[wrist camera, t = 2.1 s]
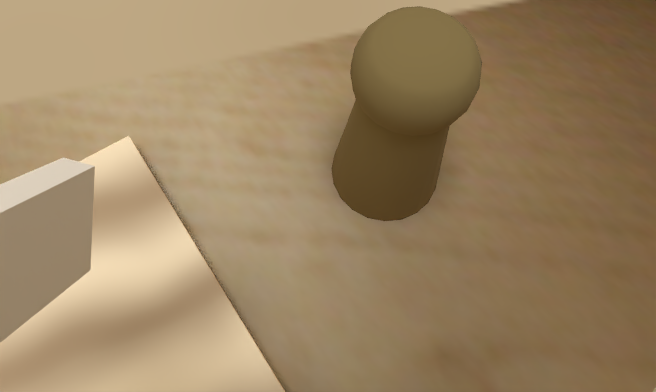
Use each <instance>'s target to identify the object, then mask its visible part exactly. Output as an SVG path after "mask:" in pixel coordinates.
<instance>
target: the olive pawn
mask: <svg viewBox="0 0 656 392" xmlns="http://www.w3.org/2000/svg"><path fill="white" fill-rule="evenodd" d="M481 66H482V61H481V57H480V54H479V50H478V47H477V44H476V42H475V40H474V38H473V37H472V36H471V34H470V33H469V31H468V30H467V28H466V27H465V26H464V25H462V24H461V23H460V22H459V21H457V20H456V19H455V18H454V17H452V16H450V15H448V14H446V13H443V12H441V11H439V10H436V9H430V8H425V7H406V8H400V9H397V10H394V11H392V12H389V13H387V14H385V15H384V16H382V17H381V18H379V19H378V20H377V21H375V22H374V23H372V24H371V25H370V26H368V28H367V29H366V30H365V32H364V33H363V35H362V36H361V38H360V39H359V41H358V43H357V45H356V47H355V49H354V54H353V58H352V63H351V72H350V74H351V80H352V86H353V91H354V94H355V98H356V101H355V104H354V106H353V109H352V111H351V114H350V117H349V119H348V122H347V124H346V127H345V129H344V132H343V135H342V137H341V140H340V142H339V145H338V148H337V150H336V153H335V156H334V161H333V165H332V175H333V182H334V185H335V187H336V189H337V191H338V193H339V195H340V197H341V199H342V200H343V201H344V202H345V203H346V204H347V205H348V206H349V207H350V208H351V209H352V210H354V211H356V212H358V213H360V214H362V215H364V216H366V217H367V218H372V219H377V220H382V221H389V220H399V219H403V218H406V217H408V216H410V215H413V214H415V213H417V212H418V211H419V210H420V209H421V208H422V207H423V206H425V205H426V204H427V203H428V202H429V200H430V198H431V196H432V194H433V192H434V190H435V187H436V183H437V179H438V174H439V170H440V165H441V161H442V157H443V152H444V148H445V143H446V139H447V134H448V130H449V126H450V125H451V124H452V123H453V122H454V121H456V120H457V119H458V118H459V117H460V116H461V115H463V114H464V113H465V112H466V111H467V110H468V108H469V106H470V104H471V102H472V100H473V99H474V97H475V95H476V93H477V91H478V89H479V86H480V77H481Z"/></svg>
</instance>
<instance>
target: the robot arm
mask: <svg viewBox="0 0 656 392" xmlns="http://www.w3.org/2000/svg"><path fill="white" fill-rule="evenodd" d="M94 175H95V166H92V165H89V164H85V163H81V162H78V161H74V160H71V159H67V158H61V159H59V160H56V161H54V162H52V163H49V164H47V165H45V166H42V167H40V168H38V169H35V170H33V171H31V172H28V173H26V174H24V175H21V176H19V177H17V178H14V179H12V180H10V181H7V182H5V183H3V184H0V343H1V342H2V341H3V340H4V339H6V338H7V337H8V336H9V335H11V334H12V333H13V332H14V331H15V330H17V329H18V328H19V327H20V326H22V325H23V324H24V323H25V322H27V321H28V320H29V319H30V318H32V317H33V316H34V315H35V314H37V313H38V312H39V311H40V310H42V309H43V308H44V307H45V306H47V305H48V304H49V303H50V302H52V301H53V300H54V299H55V298H57V297H58V296H59V295H60V294H61V293H63V292H64V291H65V290H66V289H68V288H69V287H70V286H71V285H73V284H74V283H75V282H76V281H78V280H79V279H80V278H81V277H83V276H84V275H85V274H86V273H88V272H89V271H90V270H91V246H92V222H93V199H94ZM653 392H656V387H655V389H654V390H653Z"/></svg>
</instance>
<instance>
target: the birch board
mask: <svg viewBox="0 0 656 392" xmlns="http://www.w3.org/2000/svg"><path fill="white" fill-rule="evenodd" d="M79 162H81V163H85V164H89V165H92V166H95V175H94V199H93V222H92V246H91V270H90V271H89V272H88V273H86V274H85V275H84V276H83V277H81V278H80V279H79V280H78V281H76V282H75V283H74V284H73V285H71V286H70V287H69V288H68V289H66V290H65V291H64V292H63V293H61V294H60V295H59V296H58V297H57V298H55V299H54V300H53V301H52V302H50V303H49V304H48V305H47V306H45V307H44V308H43V309H42V310H40V311H39V312H38V313H37V314H35V315H34V316H33V317H32V318H30V319H29V320H28V321H27V322H25V323H24V324H23V325H22V326H20V327H19V328H18V329H17V330H15V331H14V332H13V333H12V334H11V335H9V336H8V337H7V338H6V339H4V340H3V341H2V342H1V343H0V392H285V390H284V389H283V387H282V385H281V384H280V382H279V380H278V379H277V377H276V375H275V374H274V372H273V371H272V369H271V367H270V366H269V364H268V362H267V361H266V359H265V357H264V356H263V354H262V352H261V351H260V349H259V348H258V346H257V344H256V343H255V341H254V339H253V338H252V336H251V334H250V333H249V331H248V329H247V328H246V326H245V325H244V323H243V321H242V320H241V318H240V316H239V315H238V313H237V311H236V310H235V308H234V307H233V305H232V303H231V302H230V300H229V298H228V297H227V295H226V293H225V292H224V290H223V288H222V287H221V285H220V284H219V282H218V280H217V279H216V277H215V275H214V274H213V272H212V270H211V269H210V267H209V266H208V264H207V262H206V261H205V259H204V257H203V256H202V254H201V252H200V251H199V249H198V247H197V246H196V244H195V243H194V241H193V239H192V238H191V236H190V234H189V233H188V231H187V229H186V228H185V226H184V224H183V223H182V221H181V220H180V218H179V216H178V215H177V213H176V211H175V210H174V208H173V206H172V205H171V203H170V202H169V200H168V198H167V197H166V195H165V193H164V192H163V190H162V188H161V187H160V185H159V183H158V182H157V180H156V179H155V177H154V175H153V174H152V172H151V170H150V169H149V167H148V165H147V164H146V162H145V161H144V159H143V157H142V156H141V154H140V152H139V151H138V149H137V147H136V146H135V144H134V143H133V141H132V140H131V138H130V137H129V136H127V137H125V138H124V139H122V140H120V141H118V142H116V143H114V144H112V145H110V146H108V147H106V148H104V149H102V150H101V151H99V152H97V153H95V154H93V155H91V156H89V157H87V158H85V159H83V160H81V161H79Z"/></svg>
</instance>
